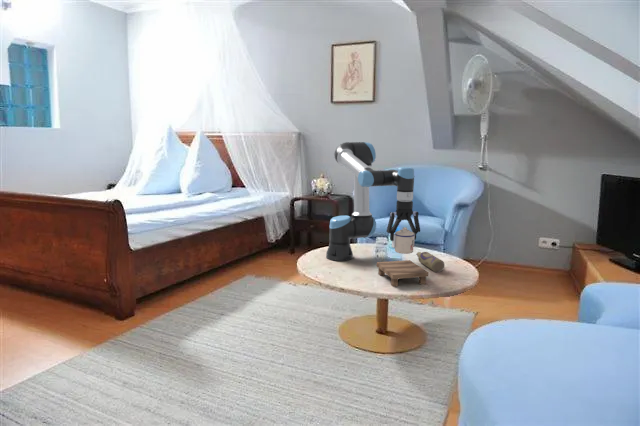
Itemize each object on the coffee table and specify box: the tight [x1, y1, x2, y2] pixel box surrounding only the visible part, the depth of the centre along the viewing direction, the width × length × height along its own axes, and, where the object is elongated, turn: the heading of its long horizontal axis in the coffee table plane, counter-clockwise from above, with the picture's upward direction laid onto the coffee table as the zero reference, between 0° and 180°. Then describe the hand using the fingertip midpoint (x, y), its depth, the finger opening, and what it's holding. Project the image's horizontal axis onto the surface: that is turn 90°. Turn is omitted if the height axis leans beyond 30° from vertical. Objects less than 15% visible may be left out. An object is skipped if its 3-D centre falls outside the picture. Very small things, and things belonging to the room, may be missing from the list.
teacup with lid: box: [394, 226, 415, 255], centre depth 205 cm, size 12×9×12 cm
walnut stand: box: [376, 259, 430, 287], centre depth 209 cm, size 20×18×6 cm
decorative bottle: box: [416, 251, 446, 273], centre depth 232 cm, size 26×8×7 cm, turn 11°
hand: (402, 246), depth 206 cm, fingers closed on teacup with lid, 9 cm apart
